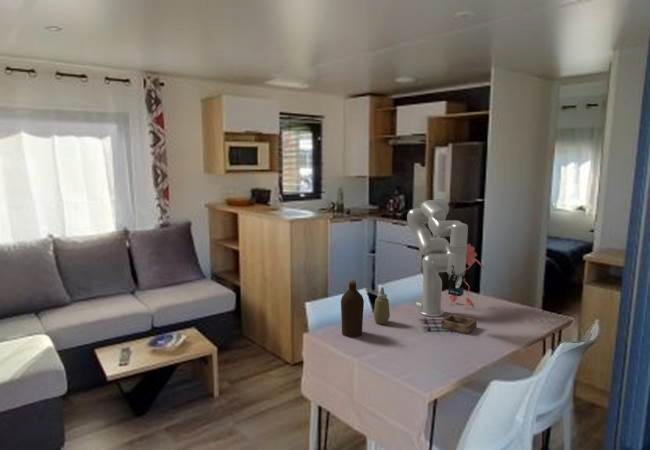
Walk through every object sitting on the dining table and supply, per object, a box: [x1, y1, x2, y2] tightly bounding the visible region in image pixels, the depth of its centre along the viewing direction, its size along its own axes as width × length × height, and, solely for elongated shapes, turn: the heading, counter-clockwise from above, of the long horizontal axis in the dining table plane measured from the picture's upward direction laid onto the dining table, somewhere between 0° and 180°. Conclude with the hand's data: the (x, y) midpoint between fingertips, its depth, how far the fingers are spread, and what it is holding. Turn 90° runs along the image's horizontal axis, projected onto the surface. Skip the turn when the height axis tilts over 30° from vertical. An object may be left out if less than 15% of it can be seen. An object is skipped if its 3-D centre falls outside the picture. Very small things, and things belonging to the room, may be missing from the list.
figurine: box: [449, 243, 486, 310], centre depth 250 cm, size 15×26×35 cm, turn 38°
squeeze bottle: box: [373, 286, 391, 325], centre depth 222 cm, size 8×8×18 cm
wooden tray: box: [441, 314, 478, 336], centre depth 216 cm, size 13×11×4 cm
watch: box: [447, 273, 465, 297], centre depth 211 cm, size 6×8×11 cm
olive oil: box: [340, 280, 365, 338], centre depth 208 cm, size 11×11×25 cm
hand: (456, 285), depth 211 cm, fingers closed on watch, 8 cm apart
